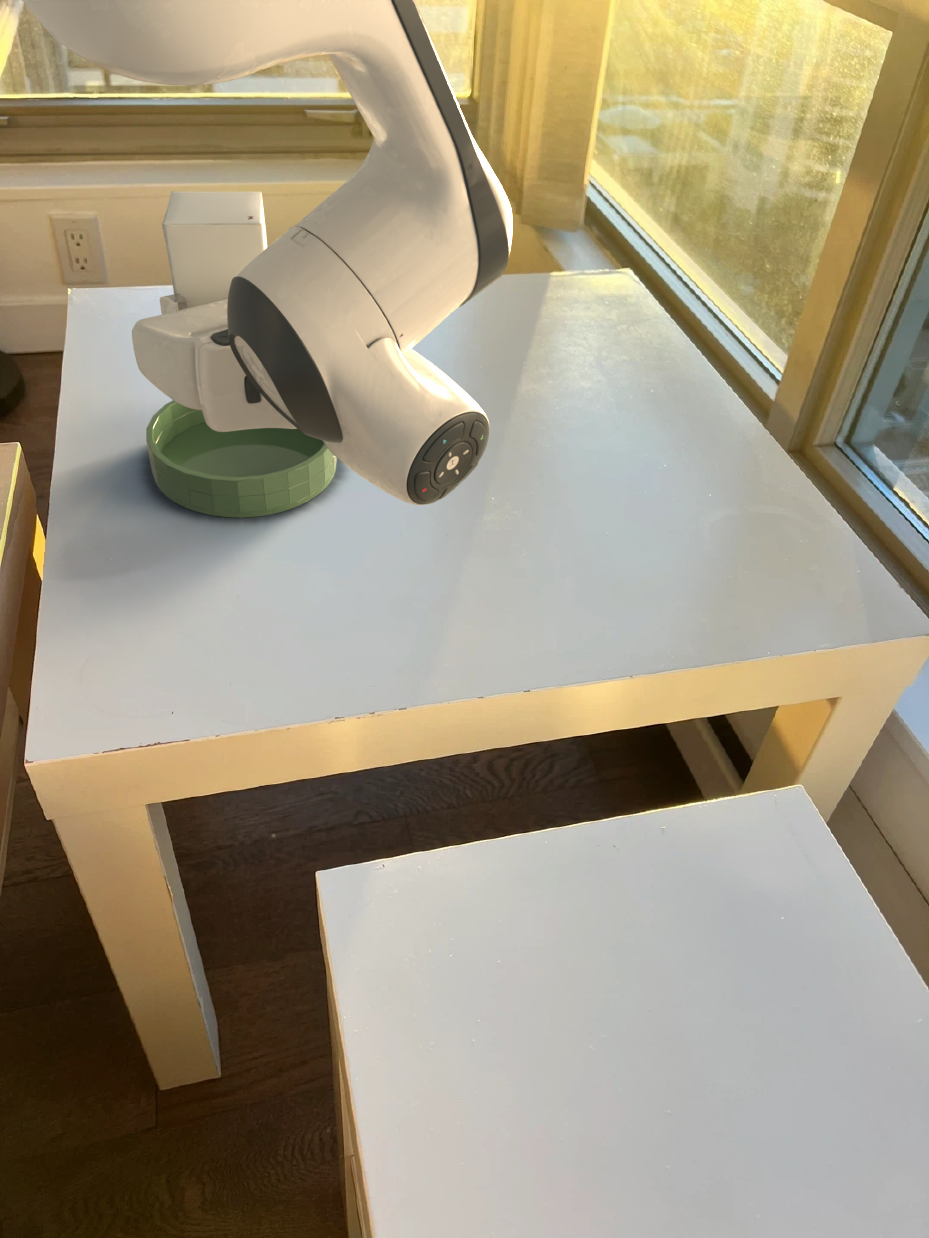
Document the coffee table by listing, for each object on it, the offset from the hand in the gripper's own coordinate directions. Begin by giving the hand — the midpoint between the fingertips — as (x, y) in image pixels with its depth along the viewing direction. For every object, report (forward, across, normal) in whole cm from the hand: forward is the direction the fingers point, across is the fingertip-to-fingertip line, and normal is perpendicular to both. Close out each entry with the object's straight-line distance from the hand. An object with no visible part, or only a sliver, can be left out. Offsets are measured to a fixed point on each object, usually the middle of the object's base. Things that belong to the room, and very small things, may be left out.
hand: (224, 291), depth 76 cm
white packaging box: (+1, -1, +7) cm, 7 cm away
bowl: (+4, -2, +19) cm, 19 cm away
